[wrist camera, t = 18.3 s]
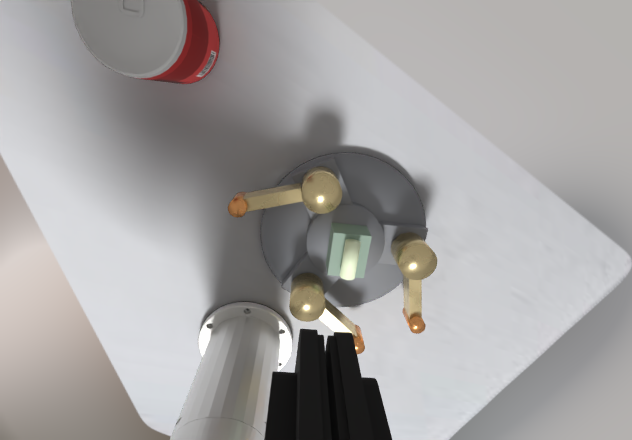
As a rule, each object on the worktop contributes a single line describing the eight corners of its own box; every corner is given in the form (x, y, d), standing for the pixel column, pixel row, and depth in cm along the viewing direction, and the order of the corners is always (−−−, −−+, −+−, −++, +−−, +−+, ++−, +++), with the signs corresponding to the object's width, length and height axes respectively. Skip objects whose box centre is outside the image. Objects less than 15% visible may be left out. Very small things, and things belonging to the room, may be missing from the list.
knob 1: (335, 163, 35) (338, 170, 32) (340, 198, 37) (345, 209, 33) (230, 182, 36) (221, 192, 32) (240, 216, 37) (232, 230, 33)
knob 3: (390, 234, 38) (399, 249, 35) (424, 230, 38) (437, 244, 35) (393, 316, 42) (401, 337, 39) (424, 313, 42) (436, 333, 39)
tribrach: (405, 309, 45) (423, 348, 38) (257, 296, 43) (247, 335, 36) (441, 163, 38) (472, 177, 31) (267, 142, 37) (258, 153, 29)
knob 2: (284, 287, 40) (282, 306, 37) (307, 266, 39) (308, 284, 36) (346, 341, 43) (350, 364, 40) (369, 323, 43) (375, 345, 39)
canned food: (215, -8, 32) (172, -60, 21) (227, 82, 34) (193, 75, 24) (135, -4, 31) (52, -54, 21) (153, 86, 34) (88, 80, 24)
